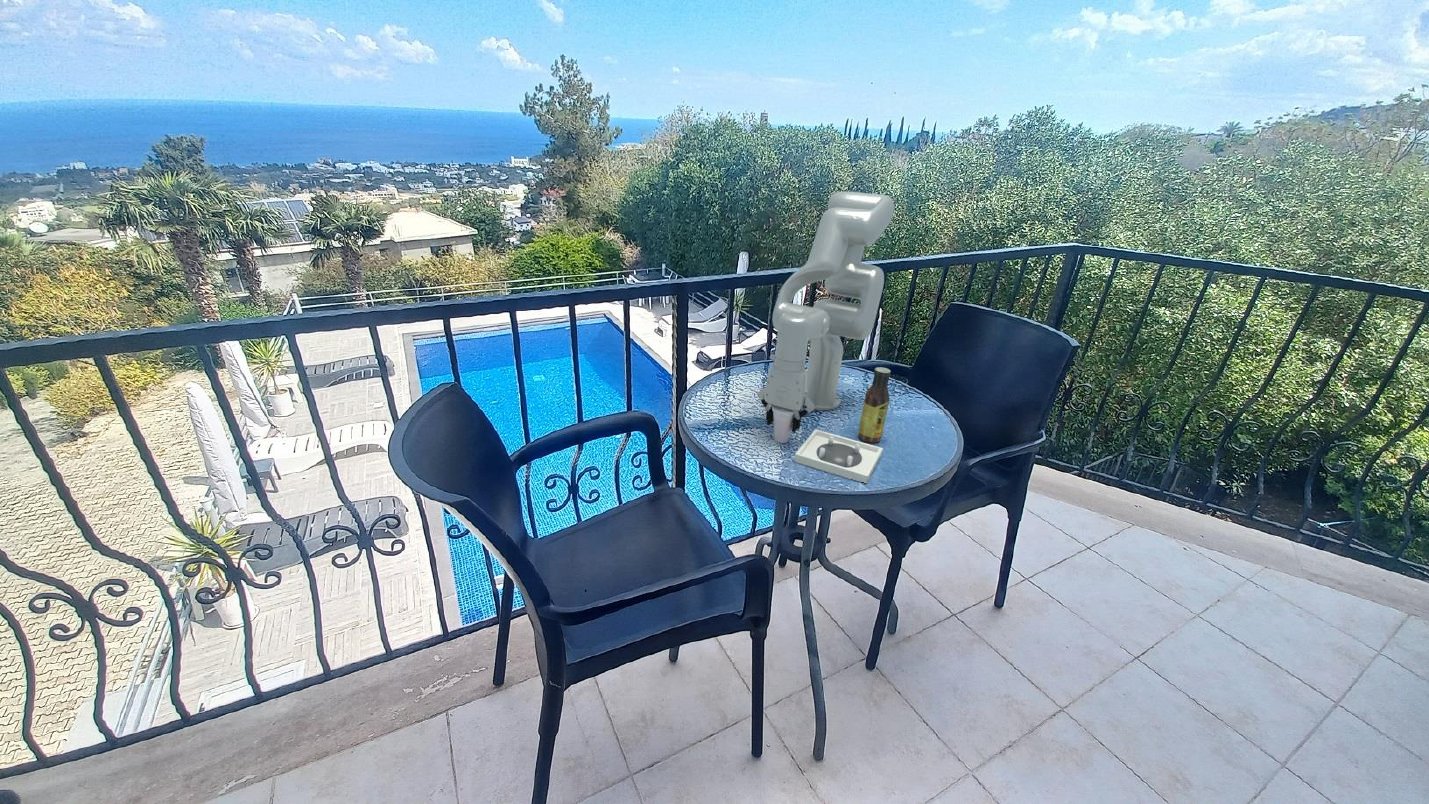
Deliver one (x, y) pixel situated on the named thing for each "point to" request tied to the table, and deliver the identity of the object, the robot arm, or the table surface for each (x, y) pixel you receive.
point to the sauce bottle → (875, 407)
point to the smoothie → (782, 423)
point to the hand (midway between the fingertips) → (782, 426)
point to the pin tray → (839, 455)
